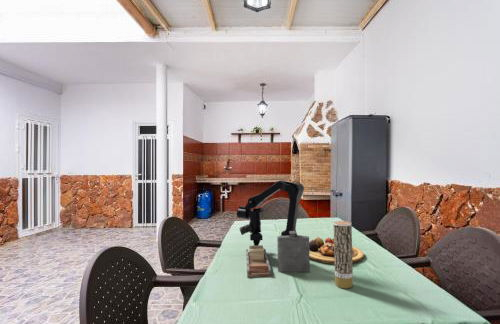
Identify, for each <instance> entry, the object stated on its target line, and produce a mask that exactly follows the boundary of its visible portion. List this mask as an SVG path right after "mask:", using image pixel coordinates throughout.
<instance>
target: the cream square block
mask: <svg viewBox="0 0 500 324" xmlns="http://www.w3.org/2000/svg"><path fill="white" fill-rule="evenodd" d="M248 248H249V249H248V251H249V252H250V260H264V249H265V248H264V246H263V244H262V245H260V244H259V245H257V246H254V245H249V247H248Z"/></svg>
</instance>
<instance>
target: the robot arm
mask: <svg viewBox="0 0 500 324" xmlns="http://www.w3.org/2000/svg"><path fill="white" fill-rule="evenodd" d="M281 190H282V191H284V192H287V197H288V199H289V203H288V210H287V211H288V212H287V219H286V227H285V229H284V230H283V231H280V233H281V234H280V236H290V233H289V232H290V231H296V232H297V230H296V228H297V222H298V221H297V220H298V213H299V205H300V200H301V199H302V197H303V194H304V192H305V187H304V185H303V184H302V183H301V182H291V181H286V180H283V179H282V180H276V182H274V184H272V185H270V186H269V187H268V188H266V189H265V190H263V191H261V192H260V193H258V194H256V195H253V196H251V197H249V198H248V199H247V203H246V204H245V206H244V205H240V206H238V209H237V211H236V217H237V219H243V220H249V222H248V224H245V225H243V226H240V227H239V232H240V234H241V236H242V235H245V234H248V233H250V234H249V240H250V241H252V242H253V246H257V245H260V242H261V241H263V234H262V229H261V228H262V227H261V225H262V223H261V221H262V220H261V213H264V212H265V210H264V209H263V208H262V207H261V206H262V205H263V203H265V201H266V200H267V199H268V198H271V197H272V196H273V195H274V194H275V193H277V192H278V191H281ZM296 235H298V233H297V234H296Z"/></svg>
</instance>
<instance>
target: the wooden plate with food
mask: <svg viewBox="0 0 500 324" xmlns="http://www.w3.org/2000/svg"><path fill="white" fill-rule="evenodd" d="M309 255H310V260H311V261H314V262H318V263H322V264H327V265H328V264H331V265H335V262H334V238H331V237H327V238H325V240H323V238H321V237H319V236H317V237H315V238H313V239H311V240H309ZM364 258H365V254H364V252H363V251H362V250H361V249H360V248H358V247H355V246H353V245H352V264H356V263H359V262H361V261H363V259H364Z"/></svg>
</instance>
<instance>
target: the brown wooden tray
mask: <svg viewBox="0 0 500 324" xmlns="http://www.w3.org/2000/svg"><path fill="white" fill-rule="evenodd" d="M263 249H264V260H250V251H249V249H248V248H246V250H245V255H246V259H245V260H246V274H247V275H246V276H247V277H246V278H266V277H267V278H268V277H269V278H270V277H272V269H271V265H270V261H269V258H268V254H267V250H266V248H263Z"/></svg>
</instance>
